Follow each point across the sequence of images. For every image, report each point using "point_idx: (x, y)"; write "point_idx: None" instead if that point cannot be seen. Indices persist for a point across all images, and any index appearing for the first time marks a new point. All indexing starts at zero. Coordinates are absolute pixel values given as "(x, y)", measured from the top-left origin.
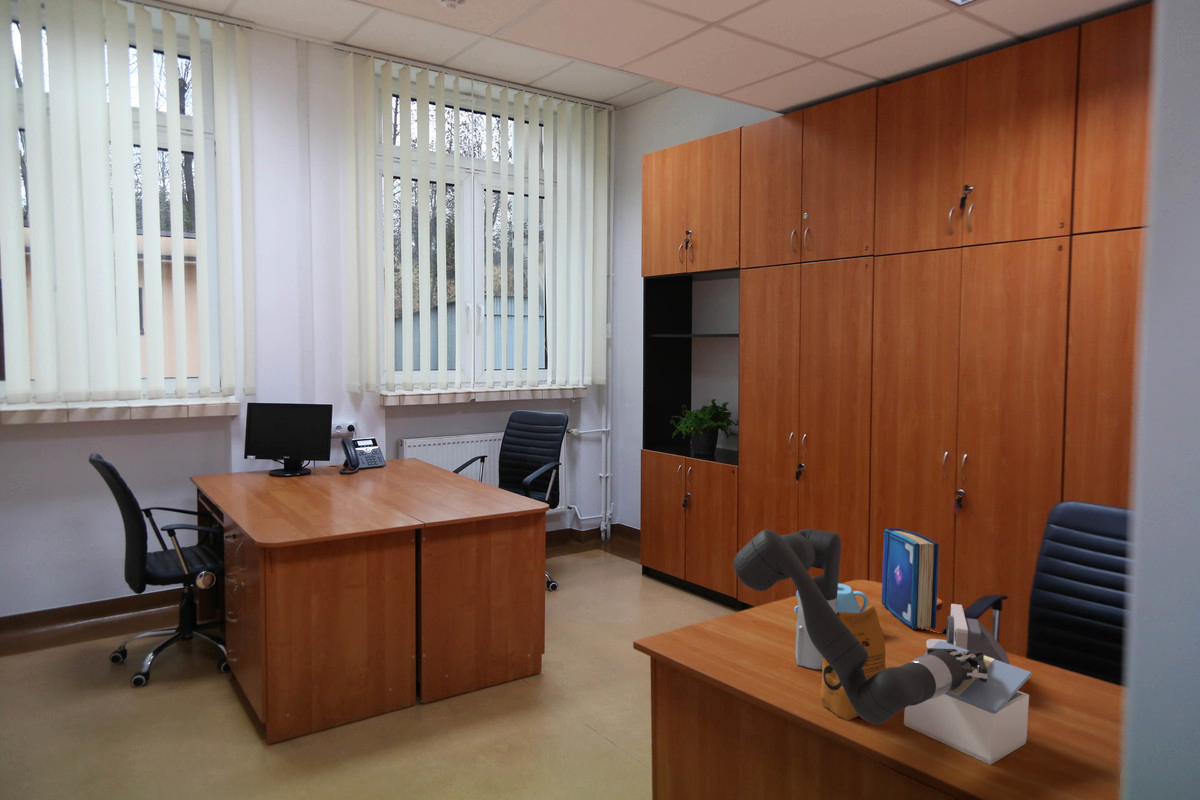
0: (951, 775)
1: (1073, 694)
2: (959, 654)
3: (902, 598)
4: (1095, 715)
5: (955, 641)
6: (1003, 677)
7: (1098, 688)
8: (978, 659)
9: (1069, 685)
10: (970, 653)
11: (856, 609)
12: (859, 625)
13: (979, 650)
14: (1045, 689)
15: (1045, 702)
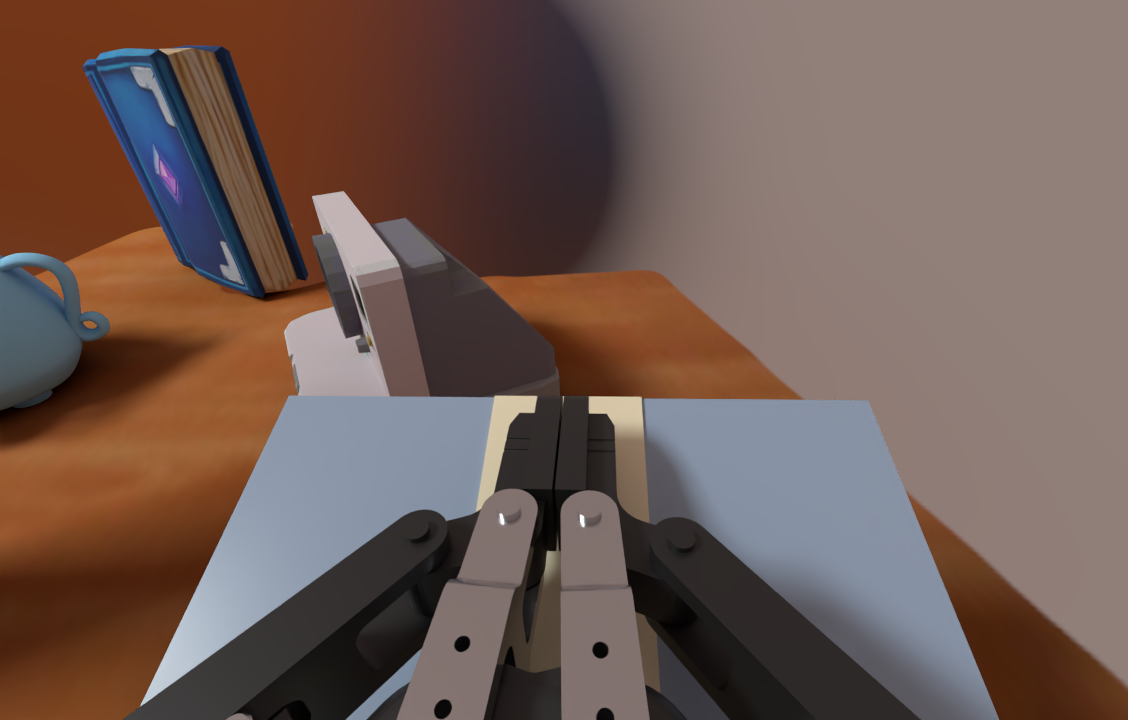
0: None
1: (634, 319)
2: (508, 624)
3: (203, 233)
4: (718, 356)
5: (367, 322)
6: (796, 536)
7: (646, 284)
8: (685, 558)
9: (608, 300)
10: (552, 483)
11: (29, 315)
12: None
13: (570, 399)
14: (586, 333)
15: (620, 374)
